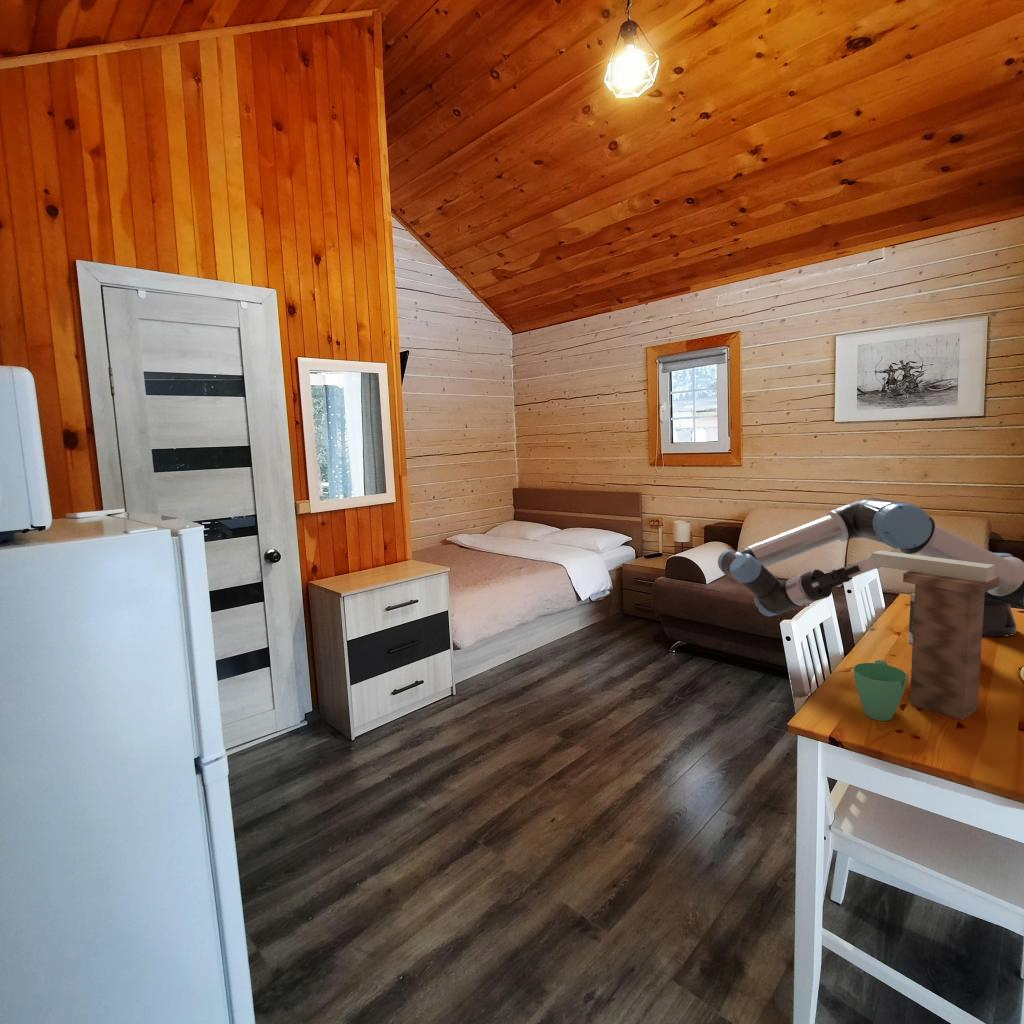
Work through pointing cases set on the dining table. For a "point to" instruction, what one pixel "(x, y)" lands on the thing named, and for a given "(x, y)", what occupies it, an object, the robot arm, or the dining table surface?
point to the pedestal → (947, 642)
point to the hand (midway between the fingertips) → (888, 557)
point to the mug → (880, 688)
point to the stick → (934, 566)
